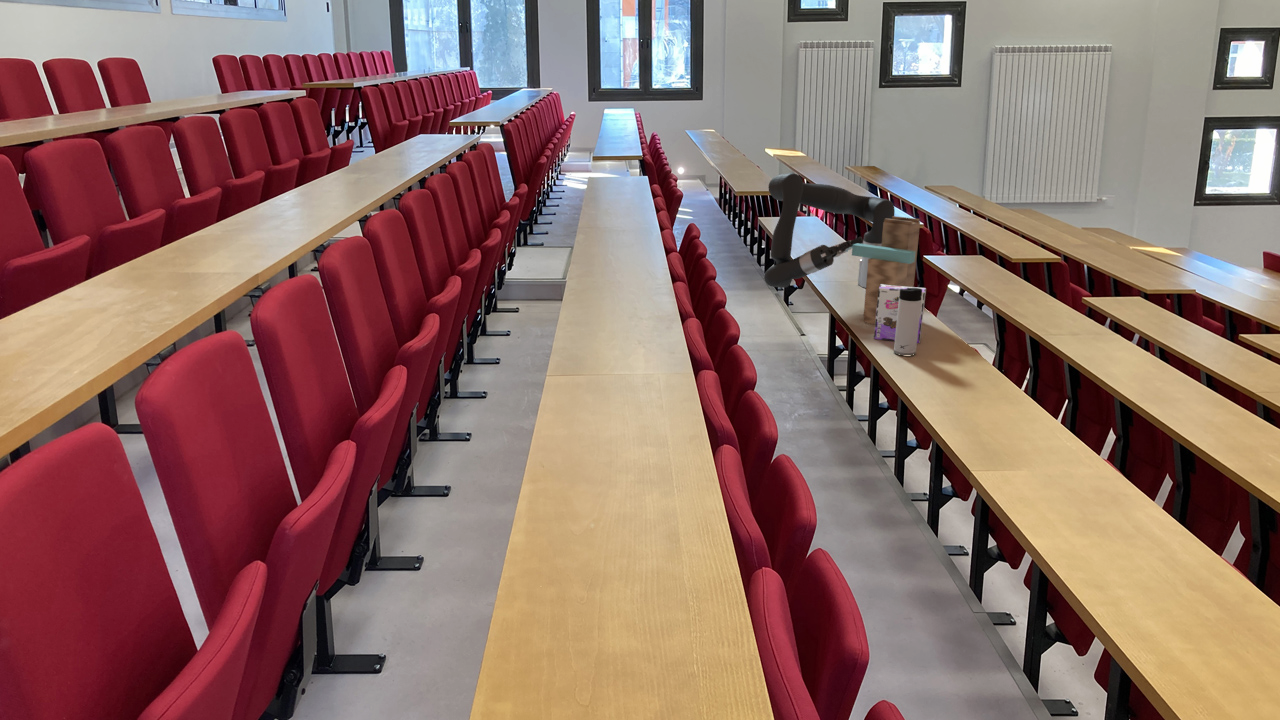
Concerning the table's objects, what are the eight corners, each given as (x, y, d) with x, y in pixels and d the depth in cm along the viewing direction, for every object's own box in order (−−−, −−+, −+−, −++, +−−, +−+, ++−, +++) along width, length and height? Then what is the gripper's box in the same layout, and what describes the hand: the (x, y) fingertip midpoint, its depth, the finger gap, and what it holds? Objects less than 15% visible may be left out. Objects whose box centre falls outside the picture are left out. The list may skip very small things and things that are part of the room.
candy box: (873, 339, 281) (877, 287, 276) (875, 334, 287) (879, 283, 282) (919, 344, 277) (925, 291, 272) (920, 338, 282) (926, 287, 277)
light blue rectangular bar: (851, 255, 299) (852, 244, 298) (856, 253, 301) (857, 243, 300) (909, 263, 287) (911, 252, 286) (914, 262, 289) (915, 251, 288)
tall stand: (875, 317, 305) (883, 219, 295) (885, 312, 311) (894, 215, 301) (900, 322, 300) (910, 222, 289) (910, 317, 306) (920, 218, 295)
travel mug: (903, 358, 264) (910, 291, 257) (889, 351, 270) (895, 286, 263) (921, 355, 266) (928, 289, 260) (906, 349, 272) (912, 284, 266)
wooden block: (863, 322, 300) (868, 259, 293) (873, 317, 305) (879, 255, 299) (891, 327, 294) (897, 263, 287) (902, 322, 300) (908, 259, 293)
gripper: (801, 252, 304) (841, 233, 293) (821, 246, 315) (861, 227, 304) (810, 273, 304) (851, 255, 293) (830, 266, 315) (870, 248, 304)
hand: (856, 241), depth 298 cm, fingers open, 8 cm apart
